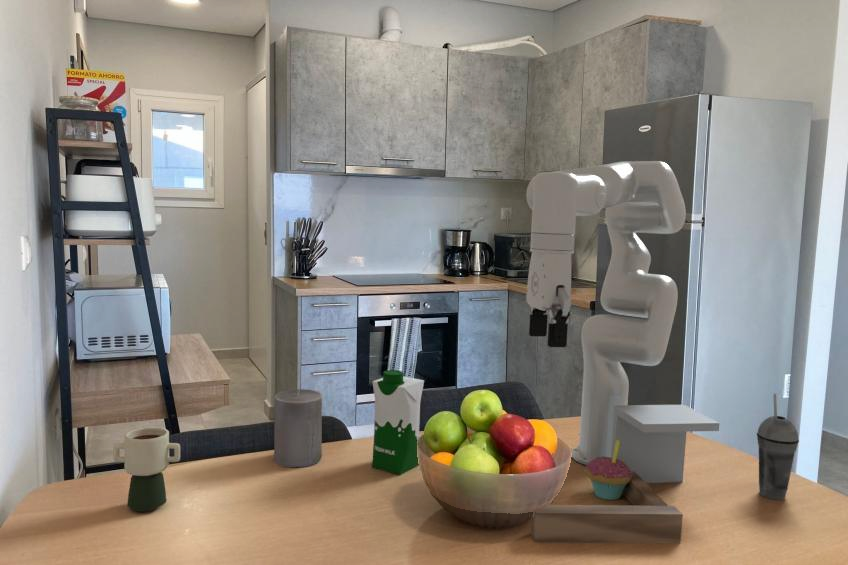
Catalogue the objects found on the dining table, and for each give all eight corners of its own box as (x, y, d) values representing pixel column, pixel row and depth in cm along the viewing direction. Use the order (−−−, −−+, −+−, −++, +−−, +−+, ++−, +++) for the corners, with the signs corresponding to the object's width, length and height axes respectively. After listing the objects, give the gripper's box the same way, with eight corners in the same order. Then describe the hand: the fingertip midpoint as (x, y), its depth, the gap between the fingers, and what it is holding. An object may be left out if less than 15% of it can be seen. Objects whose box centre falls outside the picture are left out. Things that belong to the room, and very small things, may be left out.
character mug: (184, 497, 122) (184, 426, 121) (175, 515, 115) (175, 440, 114) (120, 498, 121) (119, 426, 119) (106, 516, 114) (106, 440, 112)
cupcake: (639, 498, 129) (644, 436, 128) (609, 508, 124) (613, 443, 123) (604, 482, 136) (608, 424, 135) (574, 491, 131) (577, 430, 130)
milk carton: (365, 467, 139) (368, 371, 137) (391, 455, 147) (394, 363, 145) (401, 477, 135) (404, 378, 133) (425, 464, 142) (429, 369, 140)
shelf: (609, 481, 137) (614, 405, 136) (678, 479, 140) (684, 404, 138) (637, 506, 125) (643, 424, 124) (712, 504, 128) (719, 423, 126)
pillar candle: (298, 448, 149) (298, 380, 148) (331, 458, 144) (332, 388, 142) (263, 460, 141) (263, 389, 140) (297, 472, 136) (297, 398, 134)
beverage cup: (798, 505, 129) (808, 401, 127) (757, 500, 130) (766, 397, 128) (786, 490, 136) (796, 391, 134) (747, 485, 137) (755, 388, 135)
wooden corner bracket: (510, 489, 131) (511, 464, 131) (633, 491, 133) (635, 466, 132) (535, 542, 110) (536, 512, 110) (680, 543, 112) (682, 514, 111)
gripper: (516, 241, 127) (511, 332, 129) (549, 246, 110) (543, 351, 112) (555, 242, 128) (550, 332, 130) (593, 247, 111) (586, 351, 113)
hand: (546, 341), depth 121 cm, fingers open, 9 cm apart
